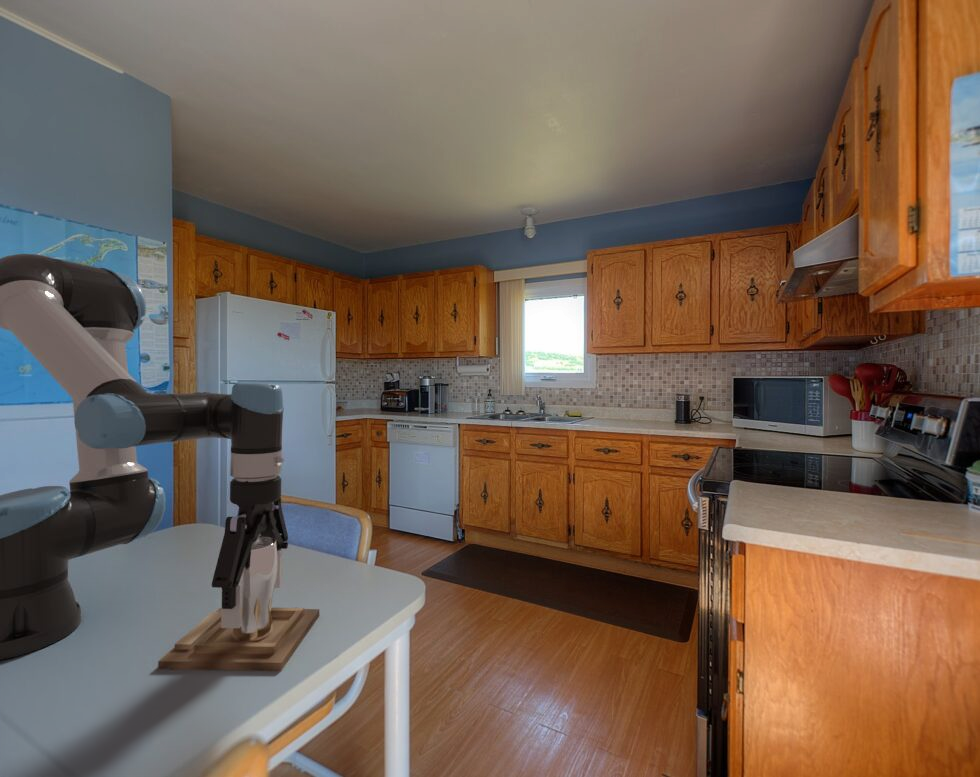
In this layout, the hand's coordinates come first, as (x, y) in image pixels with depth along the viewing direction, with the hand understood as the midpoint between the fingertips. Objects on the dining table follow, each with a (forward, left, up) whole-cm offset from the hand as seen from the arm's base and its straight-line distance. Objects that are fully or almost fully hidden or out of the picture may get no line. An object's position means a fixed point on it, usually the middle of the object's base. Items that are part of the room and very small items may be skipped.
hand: (254, 605), depth 76 cm
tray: (-1, 0, -6) cm, 6 cm away
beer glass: (0, 0, -5) cm, 5 cm away
